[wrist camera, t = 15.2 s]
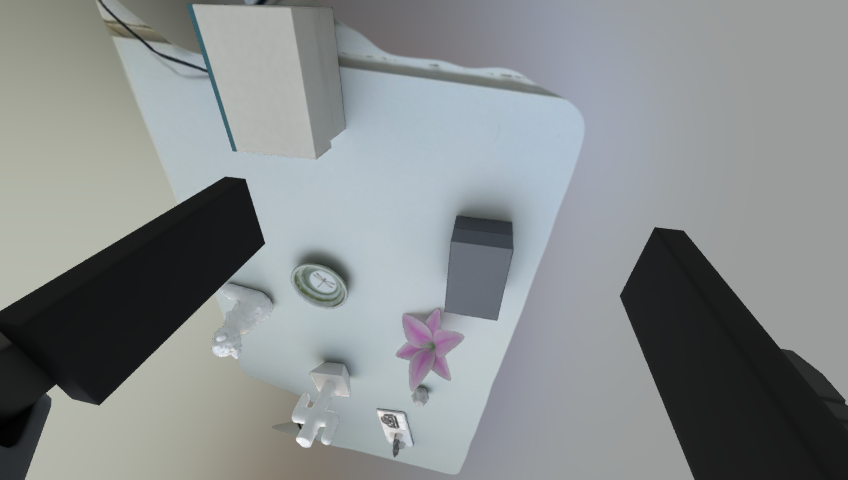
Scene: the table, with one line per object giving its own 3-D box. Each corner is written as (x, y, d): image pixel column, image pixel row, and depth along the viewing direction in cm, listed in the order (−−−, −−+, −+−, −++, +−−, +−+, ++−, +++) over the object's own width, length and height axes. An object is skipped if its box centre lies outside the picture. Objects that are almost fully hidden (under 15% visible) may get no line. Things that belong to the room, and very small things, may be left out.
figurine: (312, 356, 69) (272, 429, 57) (353, 360, 67) (320, 437, 55) (322, 377, 73) (286, 449, 61) (362, 381, 71) (333, 457, 59)
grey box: (456, 215, 44) (450, 241, 39) (512, 222, 43) (513, 249, 38) (450, 283, 50) (444, 312, 46) (497, 290, 49) (497, 320, 45)
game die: (415, 382, 67) (412, 396, 65) (432, 388, 67) (430, 403, 65) (411, 391, 70) (407, 405, 67) (427, 397, 70) (425, 411, 67)
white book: (217, 4, 29) (186, 3, 26) (312, 7, 28) (290, 7, 25) (253, 140, 36) (232, 151, 33) (331, 147, 35) (316, 160, 32)
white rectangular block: (265, 5, 34) (223, 4, 29) (332, 7, 33) (301, 6, 28) (289, 124, 41) (259, 140, 36) (345, 129, 40) (322, 146, 35)
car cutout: (413, 444, 83) (409, 464, 79) (388, 440, 85) (383, 460, 81) (404, 412, 75) (399, 432, 71) (377, 408, 76) (370, 428, 73)
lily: (479, 311, 54) (455, 333, 46) (471, 375, 56) (447, 407, 48) (416, 292, 60) (384, 310, 51) (412, 351, 62) (381, 377, 54)
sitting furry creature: (224, 281, 61) (171, 332, 51) (261, 277, 58) (213, 331, 49) (251, 317, 66) (208, 370, 56) (287, 315, 63) (248, 370, 53)
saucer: (292, 283, 58) (285, 292, 56) (305, 245, 52) (297, 254, 50) (342, 307, 59) (337, 317, 57) (360, 273, 53) (355, 283, 51)
